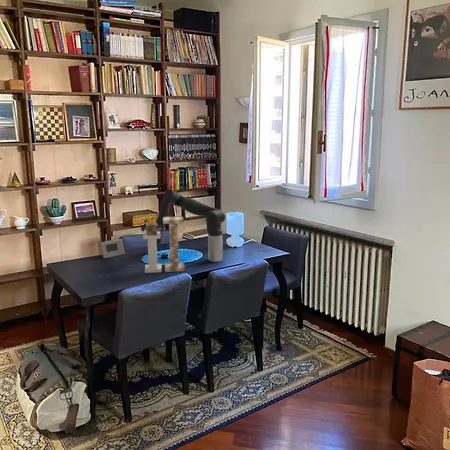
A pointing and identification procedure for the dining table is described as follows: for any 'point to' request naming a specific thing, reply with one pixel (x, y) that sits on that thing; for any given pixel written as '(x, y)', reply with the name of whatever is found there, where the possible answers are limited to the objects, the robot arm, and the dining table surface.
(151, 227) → the teal and brown block
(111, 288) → the dining table surface
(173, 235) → the marbled pedestal stand
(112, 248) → the digital clock
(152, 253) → the white column stand
